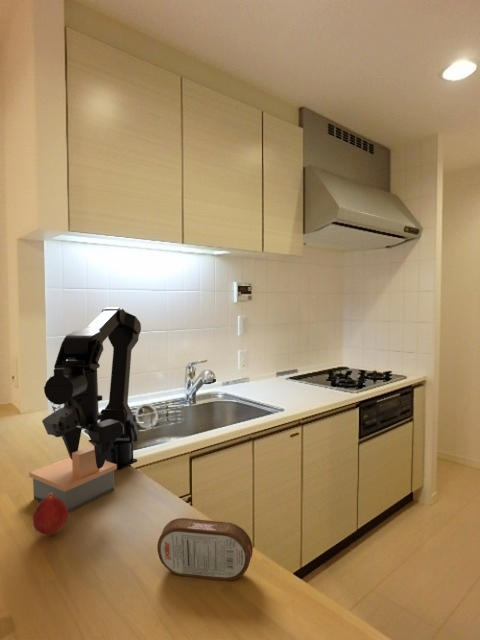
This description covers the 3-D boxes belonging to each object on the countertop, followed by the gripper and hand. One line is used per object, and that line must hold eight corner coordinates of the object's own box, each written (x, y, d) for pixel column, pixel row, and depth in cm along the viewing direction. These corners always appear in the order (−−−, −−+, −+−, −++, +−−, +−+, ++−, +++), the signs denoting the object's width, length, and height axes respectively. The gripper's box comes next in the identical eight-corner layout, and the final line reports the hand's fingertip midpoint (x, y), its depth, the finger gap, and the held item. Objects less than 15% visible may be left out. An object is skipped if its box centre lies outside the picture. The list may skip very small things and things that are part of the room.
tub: (81, 478, 98) (81, 458, 98) (114, 490, 92) (113, 469, 92) (33, 498, 88) (32, 476, 88) (66, 514, 82) (65, 490, 82)
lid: (81, 463, 99) (80, 433, 99) (117, 475, 92) (116, 442, 91) (29, 483, 88) (28, 449, 88) (64, 499, 81) (63, 462, 81)
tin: (253, 573, 64) (252, 521, 63) (250, 587, 61) (249, 532, 60) (162, 563, 66) (161, 513, 66) (155, 576, 63) (154, 524, 63)
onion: (33, 548, 71) (32, 504, 70) (33, 532, 76) (32, 490, 75) (69, 539, 73) (68, 496, 73) (67, 523, 78) (65, 483, 78)
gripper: (23, 394, 85) (26, 467, 86) (77, 407, 75) (80, 489, 75) (70, 384, 94) (73, 450, 95) (124, 394, 84) (126, 467, 85)
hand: (86, 463), depth 87 cm, fingers open, 9 cm apart
